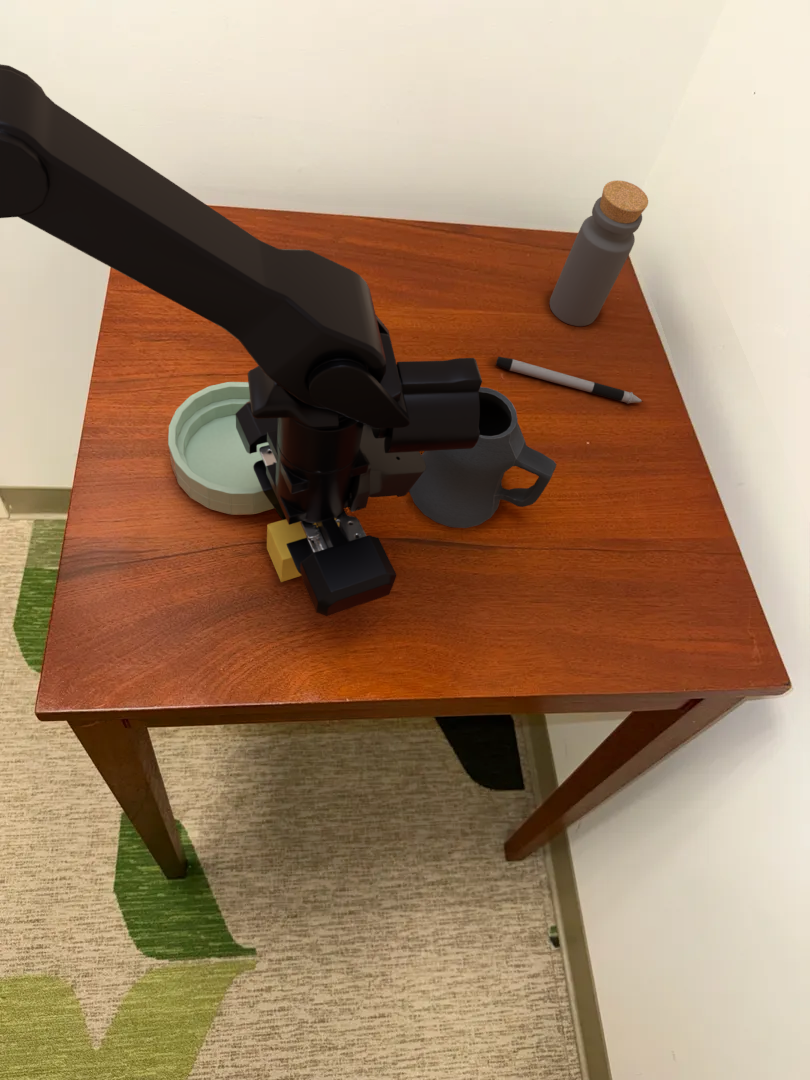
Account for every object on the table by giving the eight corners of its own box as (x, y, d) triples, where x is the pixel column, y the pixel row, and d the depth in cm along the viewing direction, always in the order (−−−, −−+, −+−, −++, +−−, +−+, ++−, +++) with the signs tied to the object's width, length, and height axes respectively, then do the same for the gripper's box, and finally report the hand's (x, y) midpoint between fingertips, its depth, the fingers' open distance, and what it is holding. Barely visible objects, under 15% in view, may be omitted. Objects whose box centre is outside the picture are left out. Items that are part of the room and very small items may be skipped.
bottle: (541, 311, 88) (590, 196, 75) (559, 283, 91) (609, 168, 78) (587, 334, 87) (644, 222, 74) (603, 305, 90) (661, 193, 77)
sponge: (281, 582, 65) (282, 560, 62) (266, 547, 67) (266, 524, 63) (345, 561, 67) (350, 538, 64) (330, 528, 69) (334, 504, 65)
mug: (392, 500, 71) (413, 425, 62) (430, 434, 76) (456, 355, 66) (509, 557, 70) (549, 490, 61) (540, 487, 75) (582, 414, 65)
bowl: (196, 536, 66) (193, 510, 62) (155, 428, 71) (150, 399, 67) (327, 497, 70) (331, 471, 67) (280, 398, 75) (282, 369, 71)
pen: (496, 361, 83) (499, 352, 82) (641, 401, 83) (646, 393, 82) (494, 369, 82) (497, 360, 81) (640, 410, 83) (646, 402, 82)
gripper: (481, 516, 52) (434, 612, 65) (370, 321, 59) (349, 443, 73) (328, 565, 48) (312, 656, 61) (231, 351, 55) (235, 474, 69)
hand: (305, 549), depth 66 cm, fingers closed on sponge, 4 cm apart
